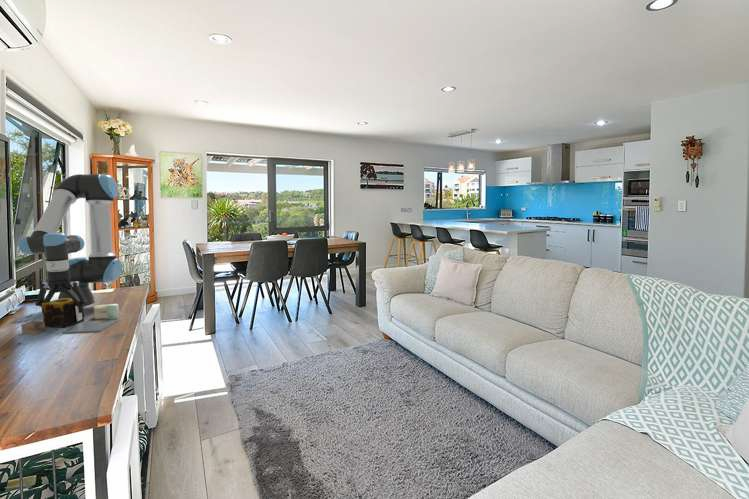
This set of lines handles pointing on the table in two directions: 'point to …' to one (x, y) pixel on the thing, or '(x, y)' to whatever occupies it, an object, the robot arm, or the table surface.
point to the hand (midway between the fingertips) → (64, 320)
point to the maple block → (100, 311)
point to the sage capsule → (112, 311)
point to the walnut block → (33, 327)
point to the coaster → (90, 326)
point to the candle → (60, 313)
